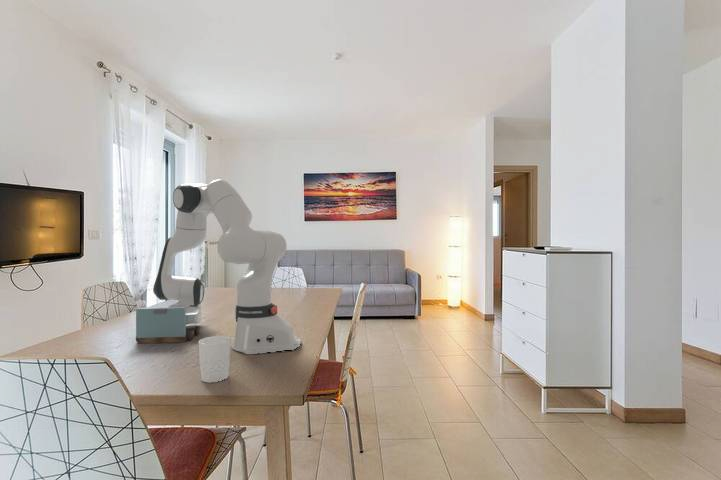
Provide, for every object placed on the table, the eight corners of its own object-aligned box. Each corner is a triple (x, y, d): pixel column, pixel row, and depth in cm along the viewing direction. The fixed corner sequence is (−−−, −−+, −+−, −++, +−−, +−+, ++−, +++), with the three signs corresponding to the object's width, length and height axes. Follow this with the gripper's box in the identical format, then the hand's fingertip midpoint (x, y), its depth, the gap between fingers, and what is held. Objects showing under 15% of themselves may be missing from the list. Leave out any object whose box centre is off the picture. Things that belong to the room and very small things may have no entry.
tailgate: (185, 335, 131) (185, 307, 131) (183, 337, 129) (183, 308, 129) (137, 337, 129) (137, 308, 129) (135, 338, 127) (135, 309, 127)
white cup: (224, 384, 93) (224, 344, 93) (192, 383, 93) (192, 344, 93) (235, 372, 101) (235, 335, 101) (206, 372, 101) (206, 335, 101)
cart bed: (200, 333, 143) (200, 324, 143) (189, 341, 131) (188, 332, 131) (151, 334, 141) (151, 325, 141) (135, 343, 129) (135, 334, 129)
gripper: (149, 307, 143) (131, 314, 129) (204, 305, 145) (192, 312, 131) (149, 323, 143) (131, 332, 129) (205, 321, 145) (192, 330, 131)
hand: (162, 322), depth 130 cm, fingers closed
